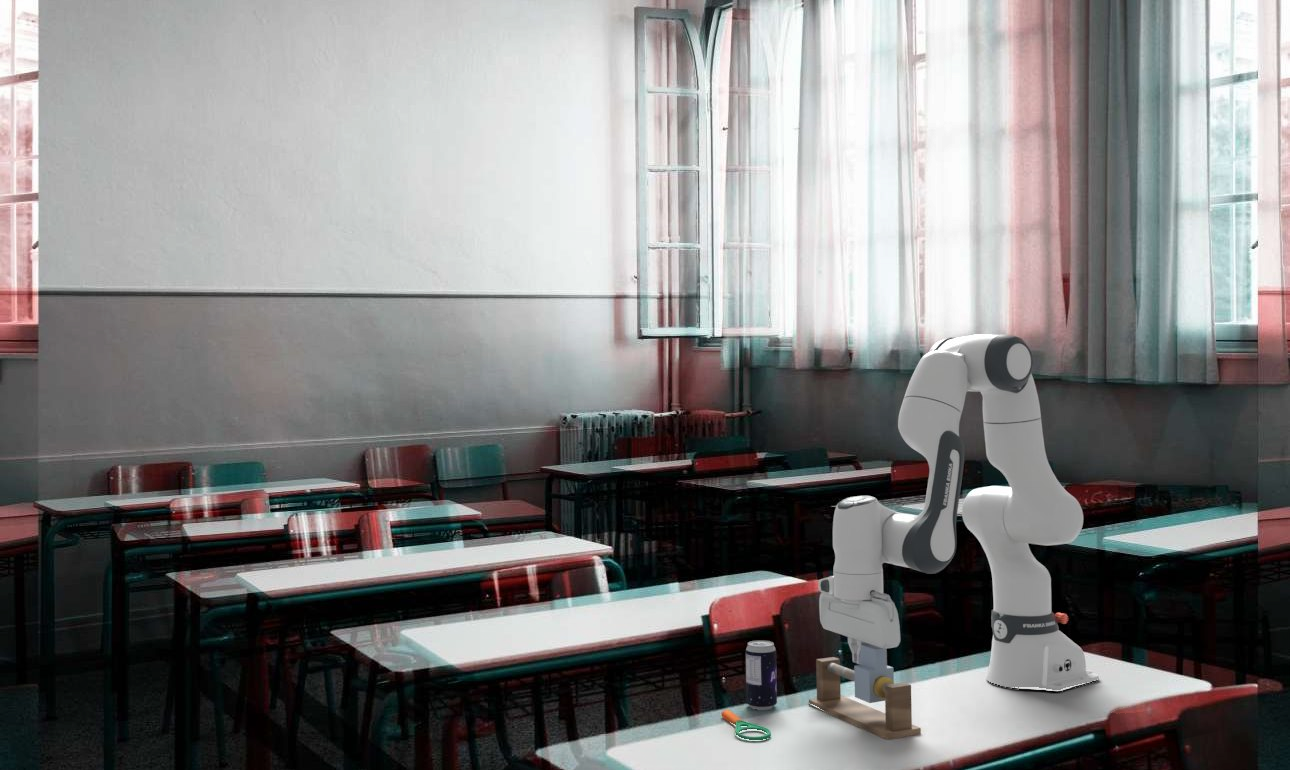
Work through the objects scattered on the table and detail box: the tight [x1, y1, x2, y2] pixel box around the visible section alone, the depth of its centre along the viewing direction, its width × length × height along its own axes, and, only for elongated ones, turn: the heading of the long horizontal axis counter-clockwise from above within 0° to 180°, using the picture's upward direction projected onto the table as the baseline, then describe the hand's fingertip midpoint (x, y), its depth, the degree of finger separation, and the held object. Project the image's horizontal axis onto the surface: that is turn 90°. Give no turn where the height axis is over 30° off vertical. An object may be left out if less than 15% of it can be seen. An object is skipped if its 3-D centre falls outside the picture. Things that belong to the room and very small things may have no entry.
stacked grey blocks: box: [853, 644, 895, 704], centre depth 202 cm, size 4×5×9 cm
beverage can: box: [745, 640, 778, 711], centre depth 214 cm, size 6×6×12 cm
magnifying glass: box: [721, 709, 772, 740], centre depth 201 cm, size 15×6×2 cm, turn 19°
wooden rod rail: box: [808, 656, 922, 740], centre depth 206 cm, size 24×7×9 cm, turn 25°
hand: (859, 663), depth 206 cm, fingers closed
